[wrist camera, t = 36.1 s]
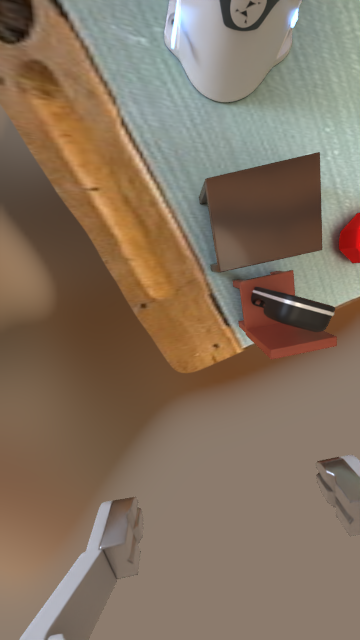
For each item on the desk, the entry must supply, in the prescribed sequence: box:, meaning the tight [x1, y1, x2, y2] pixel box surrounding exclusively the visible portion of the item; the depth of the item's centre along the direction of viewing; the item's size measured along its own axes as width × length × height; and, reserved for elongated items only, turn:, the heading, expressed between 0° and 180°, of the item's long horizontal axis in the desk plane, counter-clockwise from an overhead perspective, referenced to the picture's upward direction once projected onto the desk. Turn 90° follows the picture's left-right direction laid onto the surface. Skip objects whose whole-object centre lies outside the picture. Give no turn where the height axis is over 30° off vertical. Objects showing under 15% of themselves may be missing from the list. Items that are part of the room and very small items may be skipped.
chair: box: [233, 270, 337, 359], centre depth 33 cm, size 10×9×15 cm
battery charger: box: [251, 287, 335, 332], centre depth 29 cm, size 7×4×11 cm, turn 75°
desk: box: [199, 152, 322, 272], centre depth 33 cm, size 13×16×8 cm
